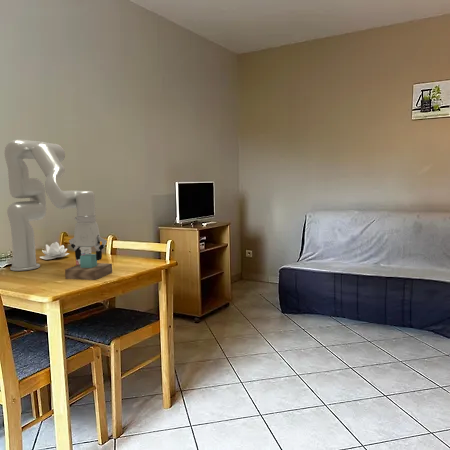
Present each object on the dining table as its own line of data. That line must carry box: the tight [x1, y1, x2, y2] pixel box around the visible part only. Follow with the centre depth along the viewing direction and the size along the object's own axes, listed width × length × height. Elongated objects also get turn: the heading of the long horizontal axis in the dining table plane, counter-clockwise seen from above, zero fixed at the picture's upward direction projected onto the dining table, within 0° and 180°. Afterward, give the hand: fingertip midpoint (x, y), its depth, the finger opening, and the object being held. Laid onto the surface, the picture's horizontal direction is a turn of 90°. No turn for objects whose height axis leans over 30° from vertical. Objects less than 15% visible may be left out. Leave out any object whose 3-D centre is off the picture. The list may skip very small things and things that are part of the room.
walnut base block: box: [64, 262, 113, 281], centre depth 177 cm, size 14×14×4 cm
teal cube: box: [80, 253, 98, 268], centre depth 177 cm, size 5×5×5 cm
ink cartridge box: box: [75, 247, 93, 266], centre depth 196 cm, size 9×5×15 cm, turn 41°
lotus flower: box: [39, 241, 70, 261], centre depth 220 cm, size 14×15×9 cm
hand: (88, 259), depth 177 cm, fingers open, 9 cm apart
